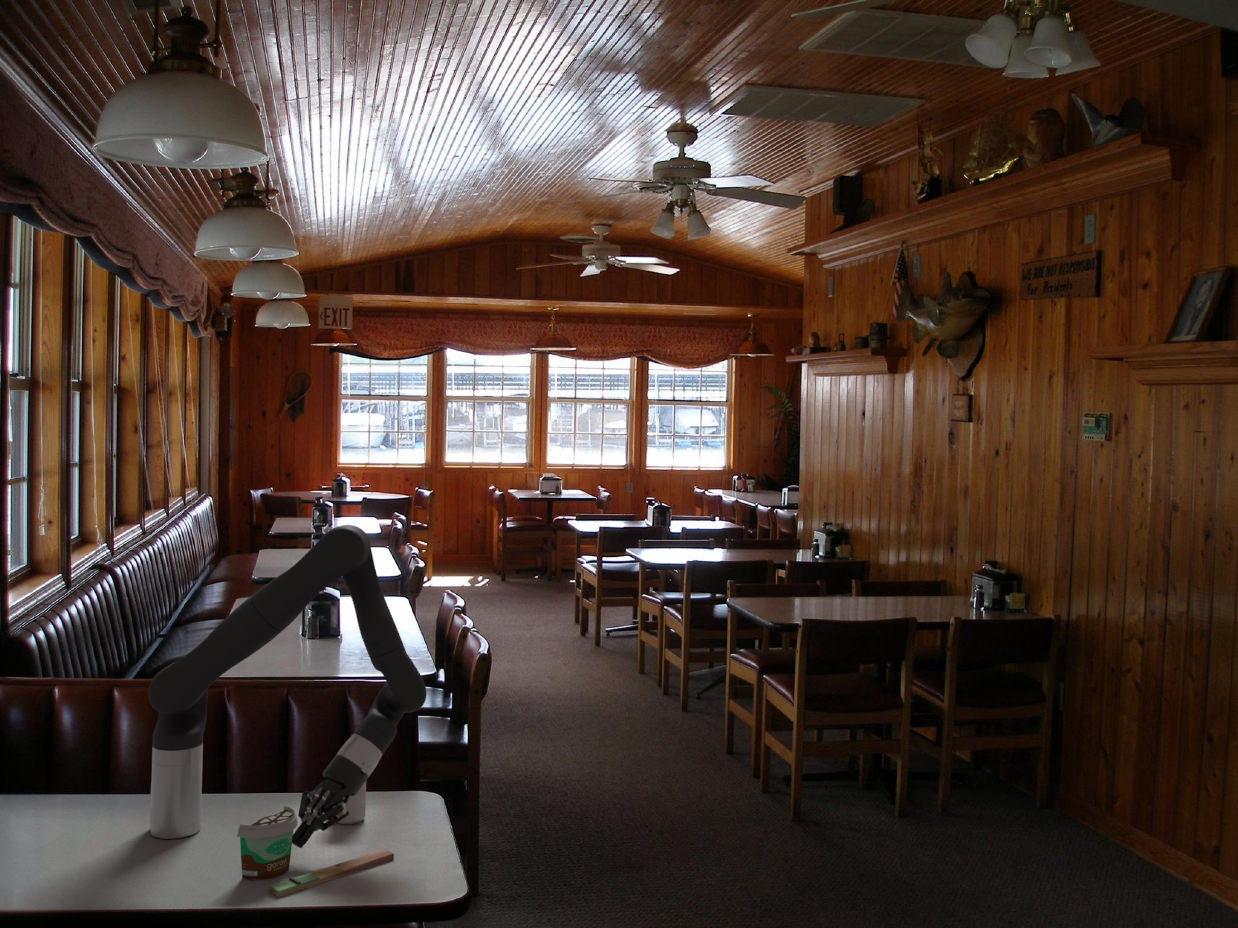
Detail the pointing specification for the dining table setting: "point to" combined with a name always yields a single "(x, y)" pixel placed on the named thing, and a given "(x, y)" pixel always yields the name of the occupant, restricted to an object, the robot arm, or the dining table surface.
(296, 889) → the strip
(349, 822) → the beverage can
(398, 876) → the dining table surface
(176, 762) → the robot arm
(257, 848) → the food container
